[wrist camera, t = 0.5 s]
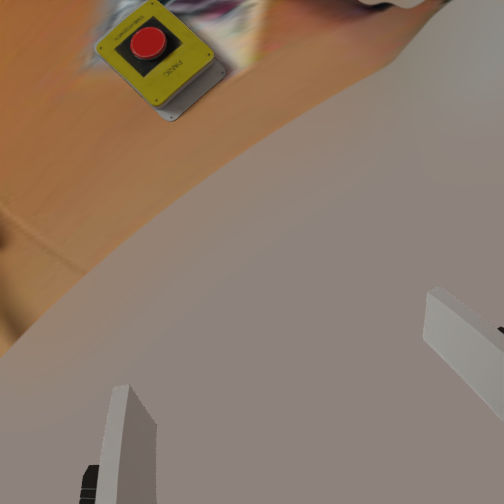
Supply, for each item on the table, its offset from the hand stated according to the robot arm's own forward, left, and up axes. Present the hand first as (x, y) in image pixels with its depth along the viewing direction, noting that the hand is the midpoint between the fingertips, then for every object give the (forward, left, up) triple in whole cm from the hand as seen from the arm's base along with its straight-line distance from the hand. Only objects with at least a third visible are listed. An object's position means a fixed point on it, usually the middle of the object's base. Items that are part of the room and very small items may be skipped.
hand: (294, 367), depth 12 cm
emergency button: (-21, -2, -29) cm, 35 cm away
